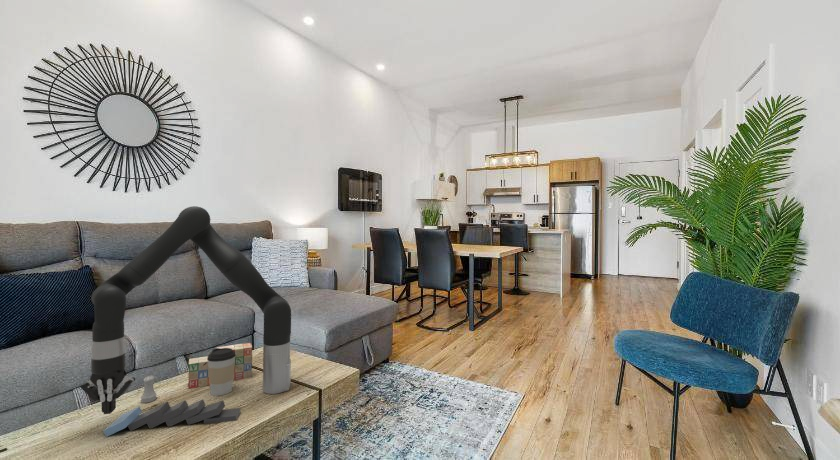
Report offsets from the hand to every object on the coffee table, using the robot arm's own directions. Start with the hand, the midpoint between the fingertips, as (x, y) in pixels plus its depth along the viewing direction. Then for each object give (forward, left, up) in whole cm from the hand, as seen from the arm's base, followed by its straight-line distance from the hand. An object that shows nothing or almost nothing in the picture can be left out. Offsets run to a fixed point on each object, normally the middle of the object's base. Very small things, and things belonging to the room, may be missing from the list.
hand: (108, 412), depth 104 cm
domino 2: (-11, 0, -4) cm, 12 cm away
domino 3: (-16, 0, -4) cm, 17 cm away
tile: (-4, -5, -3) cm, 7 cm away
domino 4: (-21, 0, -4) cm, 22 cm away
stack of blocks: (-21, -30, -5) cm, 37 cm away
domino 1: (-6, 0, -4) cm, 7 cm away
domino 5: (-26, 0, -5) cm, 26 cm away
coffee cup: (-25, -20, -5) cm, 32 cm away
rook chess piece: (-3, -18, -5) cm, 19 cm away
